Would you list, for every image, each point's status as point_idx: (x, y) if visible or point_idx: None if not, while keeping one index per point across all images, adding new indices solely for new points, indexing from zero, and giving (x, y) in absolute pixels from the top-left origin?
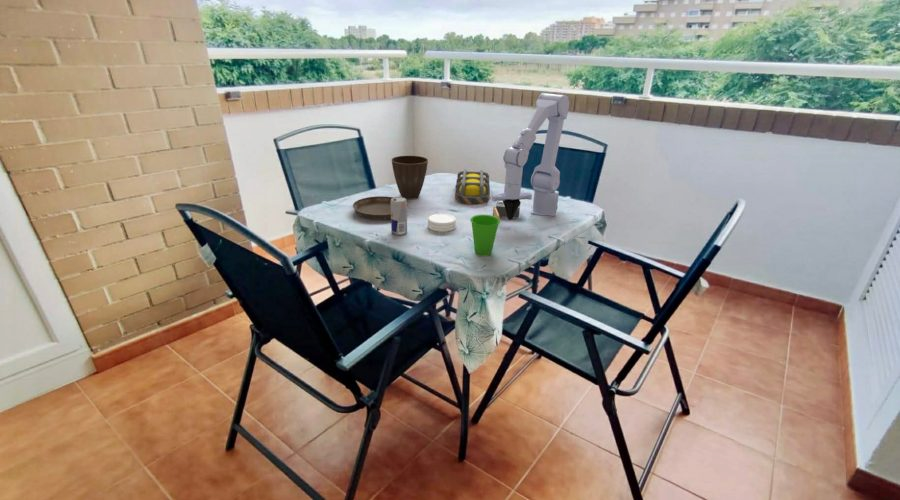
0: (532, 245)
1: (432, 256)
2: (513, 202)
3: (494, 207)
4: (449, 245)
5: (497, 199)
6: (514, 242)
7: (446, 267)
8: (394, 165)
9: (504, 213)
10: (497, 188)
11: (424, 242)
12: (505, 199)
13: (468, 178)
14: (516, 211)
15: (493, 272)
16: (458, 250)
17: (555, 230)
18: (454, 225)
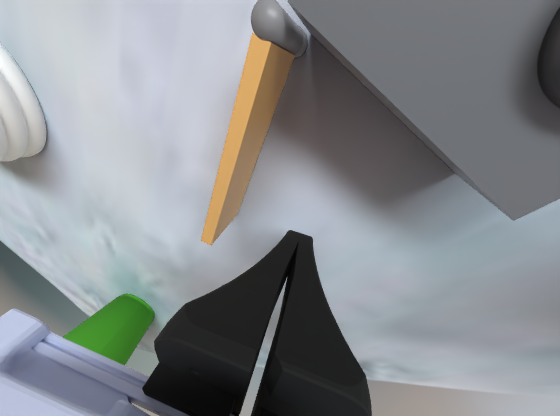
0: (267, 352)
1: (36, 262)
2: (252, 413)
3: (251, 49)
4: (59, 243)
5: (59, 368)
6: None
7: (72, 301)
8: None
9: (375, 93)
10: None
11: None
12: (154, 406)
13: None
14: (468, 180)
15: (146, 347)
16: (84, 272)
17: (449, 363)
18: (22, 151)
